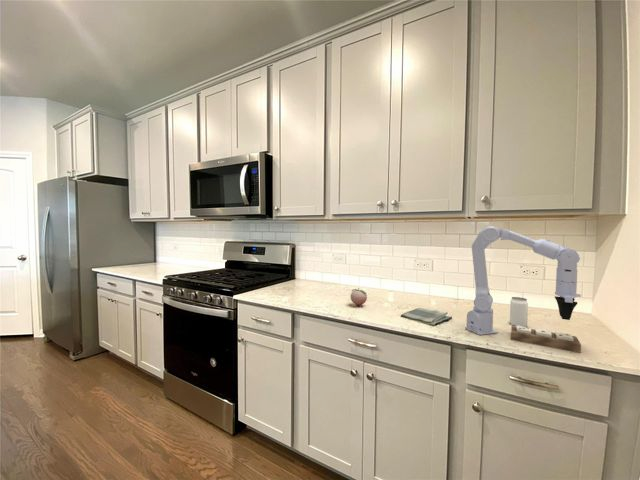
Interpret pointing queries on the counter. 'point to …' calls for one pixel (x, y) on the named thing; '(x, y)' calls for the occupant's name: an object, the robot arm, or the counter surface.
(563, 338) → the two dot tile
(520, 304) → the can
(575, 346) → the brown wooden tray
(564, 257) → the robot arm
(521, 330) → the three dot tile
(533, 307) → the counter surface
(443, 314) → the dish towel
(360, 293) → the decorative fruit
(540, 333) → the one dot tile
